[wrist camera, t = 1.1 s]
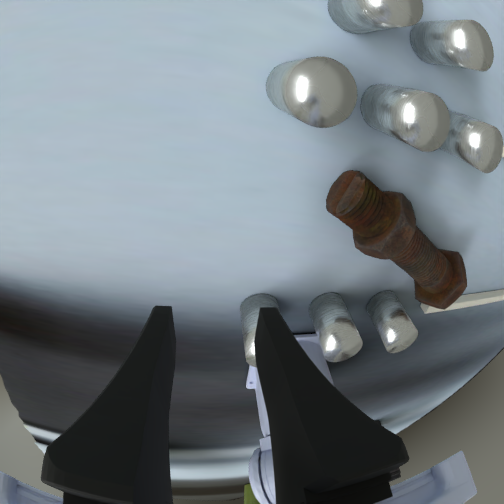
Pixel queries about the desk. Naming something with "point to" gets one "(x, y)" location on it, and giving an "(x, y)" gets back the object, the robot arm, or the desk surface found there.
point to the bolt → (396, 237)
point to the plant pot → (249, 495)
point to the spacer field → (389, 122)
